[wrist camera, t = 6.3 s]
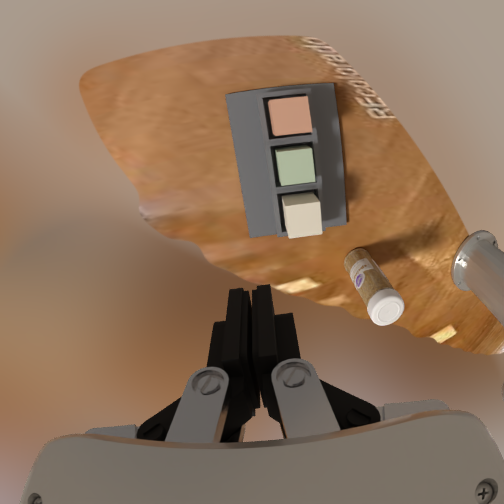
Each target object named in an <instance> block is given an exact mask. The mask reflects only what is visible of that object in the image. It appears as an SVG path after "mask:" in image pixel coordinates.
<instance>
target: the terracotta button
mask: <svg viewBox="0 0 504 504" xmlns="http://www.w3.org/2000/svg"><path fill="white" fill-rule="evenodd" d="M268 107H269V113H270V119H271V126H272V132H273V134H274V135H275V136H279V135H288V134H297V133H306V132H312V124H311V117H310V110H309V103H308V96H304V97H293V98H283V99H274V100H270V101H269V102H268Z"/></svg>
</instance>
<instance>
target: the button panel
mask: <svg viewBox="0 0 504 504" xmlns="http://www.w3.org/2000/svg"><path fill="white" fill-rule="evenodd" d="M225 96H226V102H227V108H228V114H229V120H230V125H231V131H232V137H233V143H234V148H235V154H236V160H237V166H238V171H239V177H240V183H241V189H242V194H243V200H244V206H245V212H246V218H247V223H248V229H249V235H250V238H253V237H260V236H267V235H274V234H277V236H278V237H283V236H288V233H287V229H286V226H285V219H284V211H283V203H282V196H284V195H292V194H300V193H308V192H313V193H314V195H315V196H316V197H317V199H318V200H319V201H320V209H321V223H322V231H326V228H325V227H332V226H340V225H346V201H345V184H344V170H343V158H342V147H341V137H340V128H339V119H338V111H337V104H336V97H335V90H334V83H323V84H306V85H293V86H283V87H274V88H265V89H258V90H251V91H244V92H238V93H232V94H226V95H225ZM304 96H308V103H309V110H310V117H311V124H312V132H306V133H297V134H288V135H279V136H275V135H274V134H273V132H272V126H271V119H270V113H269V107H268V102H269V101H270V100H274V99H283V98H293V97H304ZM297 145H307V146H309V147H310V148H312V154H313V163H314V173H315V182H309V183H300V184H292V185H285V186H282V185H281V183H280V181H279V178H278V172H277V165H276V158H275V151H274V148H280V147H289V146H297Z"/></svg>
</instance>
